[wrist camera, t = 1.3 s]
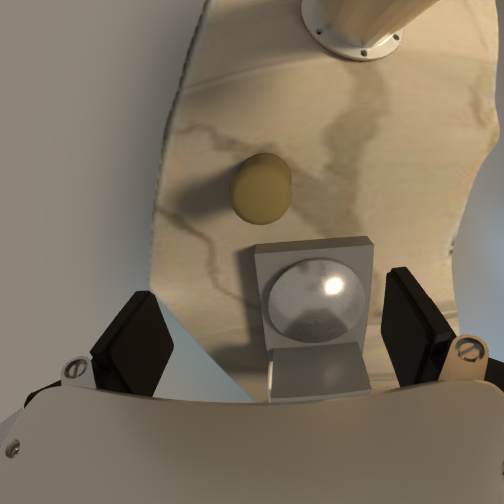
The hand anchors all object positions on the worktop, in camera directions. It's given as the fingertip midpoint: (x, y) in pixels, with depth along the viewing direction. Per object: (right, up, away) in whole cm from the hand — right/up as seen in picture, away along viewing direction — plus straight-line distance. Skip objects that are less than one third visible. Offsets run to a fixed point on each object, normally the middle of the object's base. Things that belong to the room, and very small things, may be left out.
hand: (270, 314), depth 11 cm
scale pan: (+7, -4, +23) cm, 25 cm away
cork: (+1, +11, +21) cm, 24 cm away
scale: (+8, -5, +27) cm, 29 cm away
